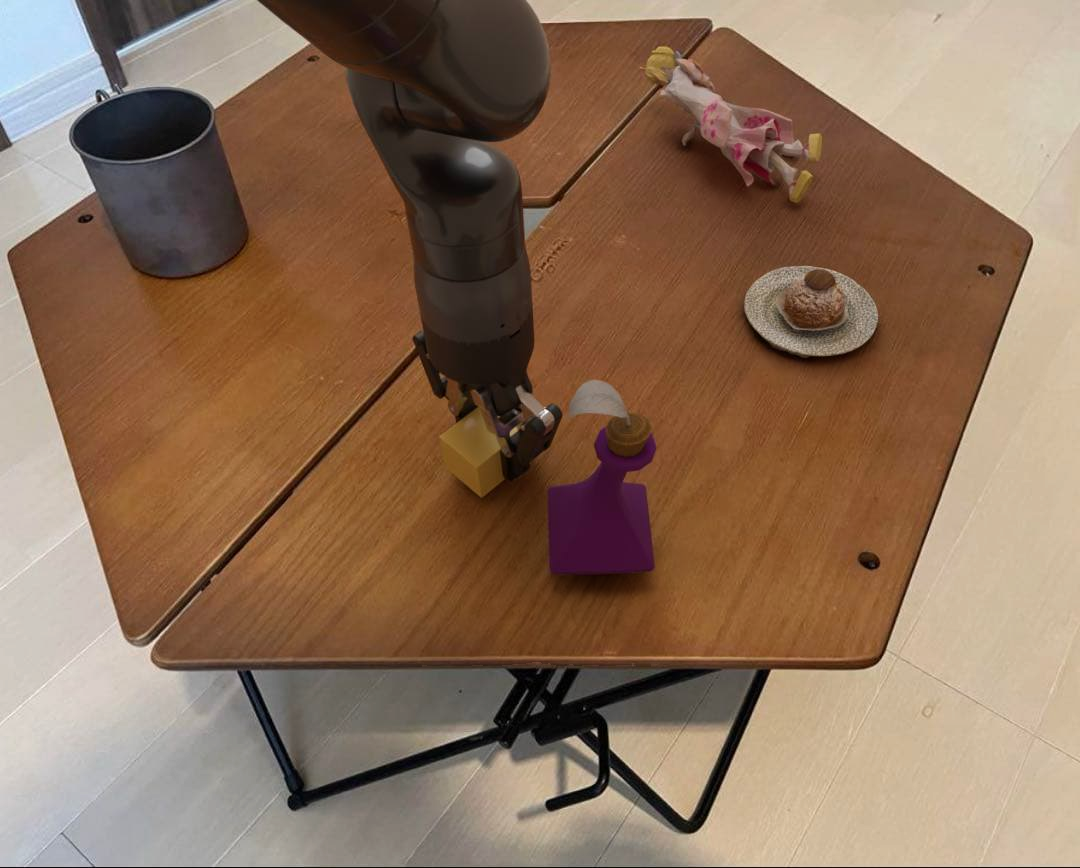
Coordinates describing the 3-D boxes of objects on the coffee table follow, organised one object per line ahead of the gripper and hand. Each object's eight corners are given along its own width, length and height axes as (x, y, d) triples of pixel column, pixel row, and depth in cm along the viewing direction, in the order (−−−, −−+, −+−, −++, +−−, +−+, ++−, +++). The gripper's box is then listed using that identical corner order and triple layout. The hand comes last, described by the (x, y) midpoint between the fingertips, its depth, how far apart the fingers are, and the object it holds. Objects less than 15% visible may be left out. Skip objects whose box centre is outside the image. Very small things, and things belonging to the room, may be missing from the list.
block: (481, 498, 71) (477, 467, 68) (444, 467, 73) (438, 436, 70) (544, 447, 74) (542, 415, 71) (507, 418, 76) (504, 386, 73)
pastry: (889, 362, 80) (904, 324, 76) (753, 366, 80) (762, 329, 77) (857, 272, 88) (869, 234, 84) (733, 276, 88) (740, 238, 84)
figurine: (765, 245, 96) (620, 114, 107) (848, 181, 97) (697, 57, 107) (768, 175, 85) (607, 36, 96) (863, 103, 86) (693, -27, 96)
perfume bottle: (643, 508, 71) (659, 348, 57) (652, 592, 66) (672, 440, 52) (548, 511, 71) (541, 352, 57) (550, 595, 67) (543, 444, 53)
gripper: (363, 277, 61) (402, 435, 75) (509, 384, 55) (522, 536, 68) (446, 225, 65) (469, 385, 78) (593, 321, 58) (590, 478, 71)
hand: (494, 455), depth 73 cm, fingers closed on block, 4 cm apart
